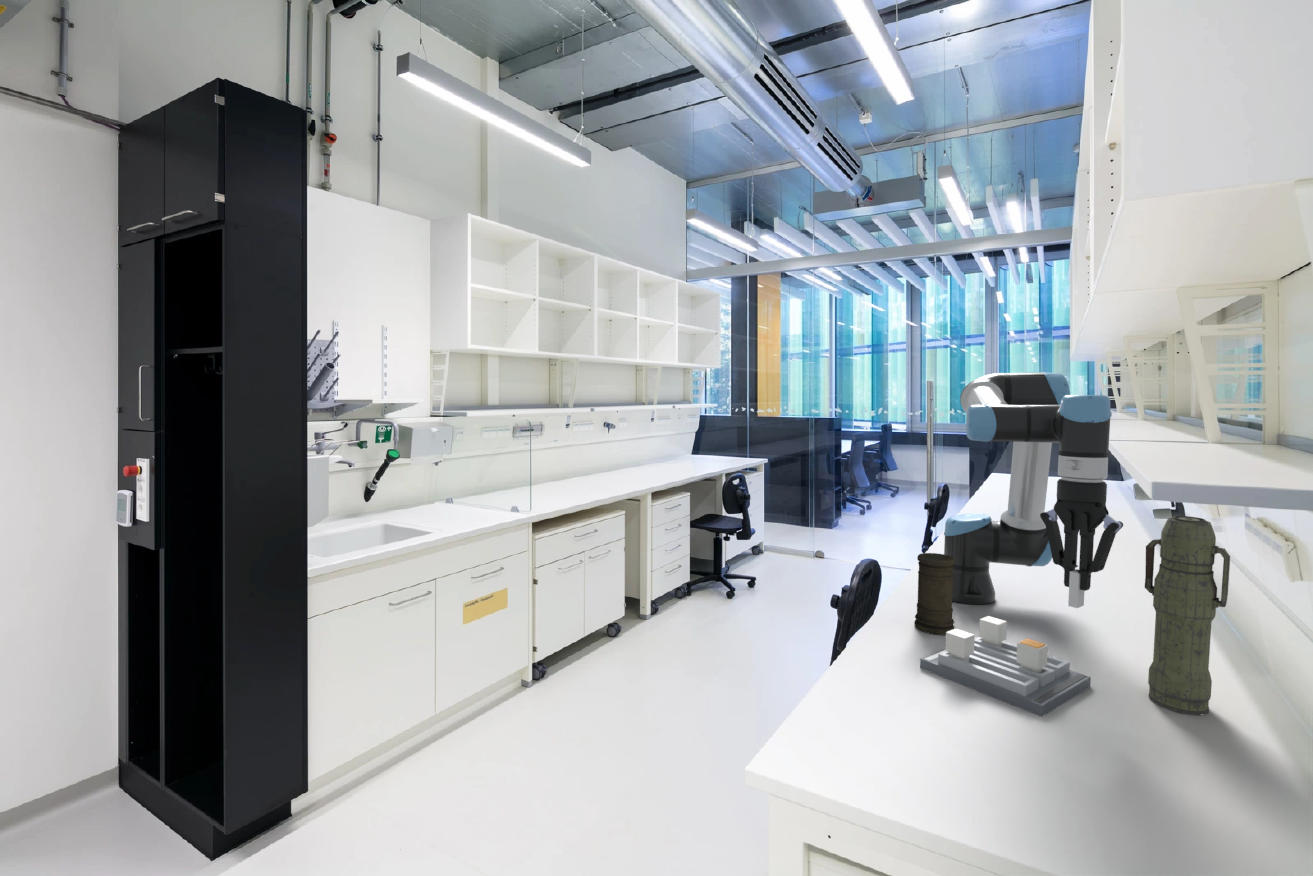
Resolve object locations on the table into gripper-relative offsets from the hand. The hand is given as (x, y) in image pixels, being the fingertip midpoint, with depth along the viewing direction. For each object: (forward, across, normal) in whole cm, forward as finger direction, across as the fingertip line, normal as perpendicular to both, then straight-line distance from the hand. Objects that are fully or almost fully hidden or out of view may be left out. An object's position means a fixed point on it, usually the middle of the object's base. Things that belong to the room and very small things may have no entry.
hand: (1076, 605), depth 115 cm
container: (+19, -36, +13) cm, 43 cm away
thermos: (+19, +11, +16) cm, 27 cm away
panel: (+19, -13, 0) cm, 23 cm away
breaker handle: (+16, -7, 0) cm, 18 cm away
